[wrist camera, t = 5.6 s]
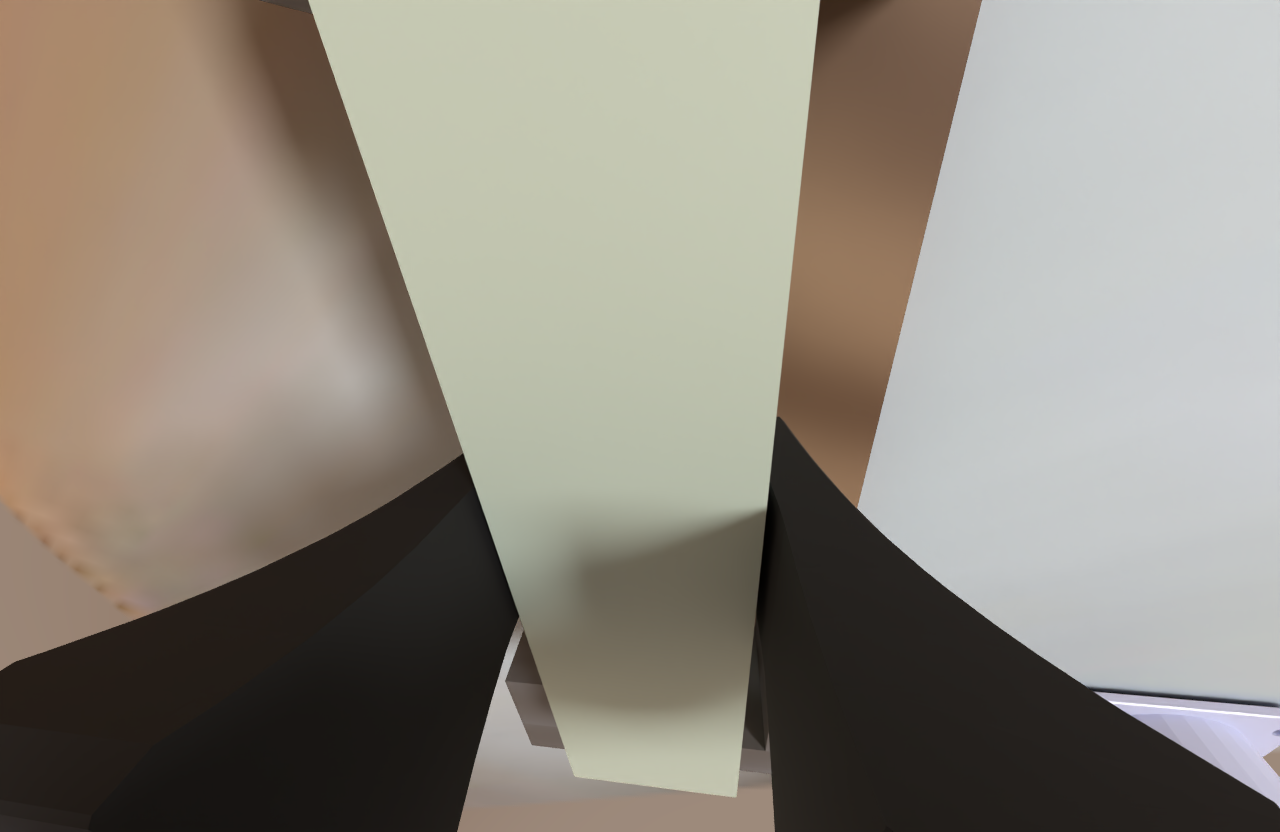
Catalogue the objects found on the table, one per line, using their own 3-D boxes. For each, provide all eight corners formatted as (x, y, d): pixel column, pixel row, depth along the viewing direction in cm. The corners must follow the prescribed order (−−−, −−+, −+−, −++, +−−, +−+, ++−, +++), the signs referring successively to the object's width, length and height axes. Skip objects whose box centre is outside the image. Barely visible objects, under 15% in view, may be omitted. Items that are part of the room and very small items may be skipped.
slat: (730, 611, 15) (736, 798, 11) (610, 602, 16) (574, 776, 12) (768, -75, 7) (860, -385, 3) (504, -38, 7) (225, -240, 3)
